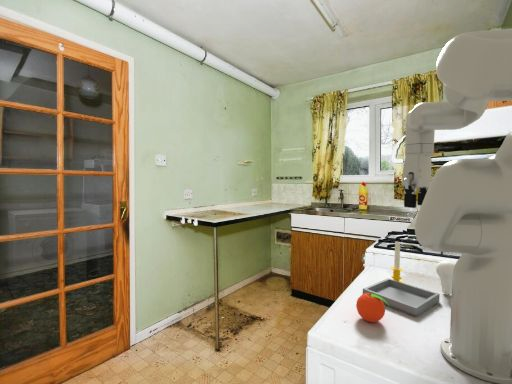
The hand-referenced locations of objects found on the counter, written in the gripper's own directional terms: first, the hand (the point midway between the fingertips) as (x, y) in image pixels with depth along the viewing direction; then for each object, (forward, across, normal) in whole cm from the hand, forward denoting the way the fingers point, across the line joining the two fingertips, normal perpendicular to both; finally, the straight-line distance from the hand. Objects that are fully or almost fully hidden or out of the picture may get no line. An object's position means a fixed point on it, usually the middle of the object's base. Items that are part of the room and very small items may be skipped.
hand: (416, 206), depth 81 cm
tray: (+29, +6, -2) cm, 29 cm away
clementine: (+29, +25, 0) cm, 38 cm away
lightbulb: (+29, -10, +6) cm, 31 cm away
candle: (+29, -7, -8) cm, 31 cm away
